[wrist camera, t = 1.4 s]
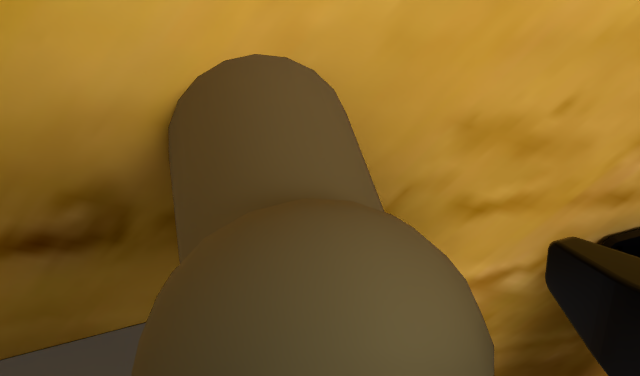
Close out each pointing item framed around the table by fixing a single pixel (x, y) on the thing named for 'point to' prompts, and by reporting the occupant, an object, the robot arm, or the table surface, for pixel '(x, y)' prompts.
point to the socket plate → (81, 357)
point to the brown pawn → (295, 246)
